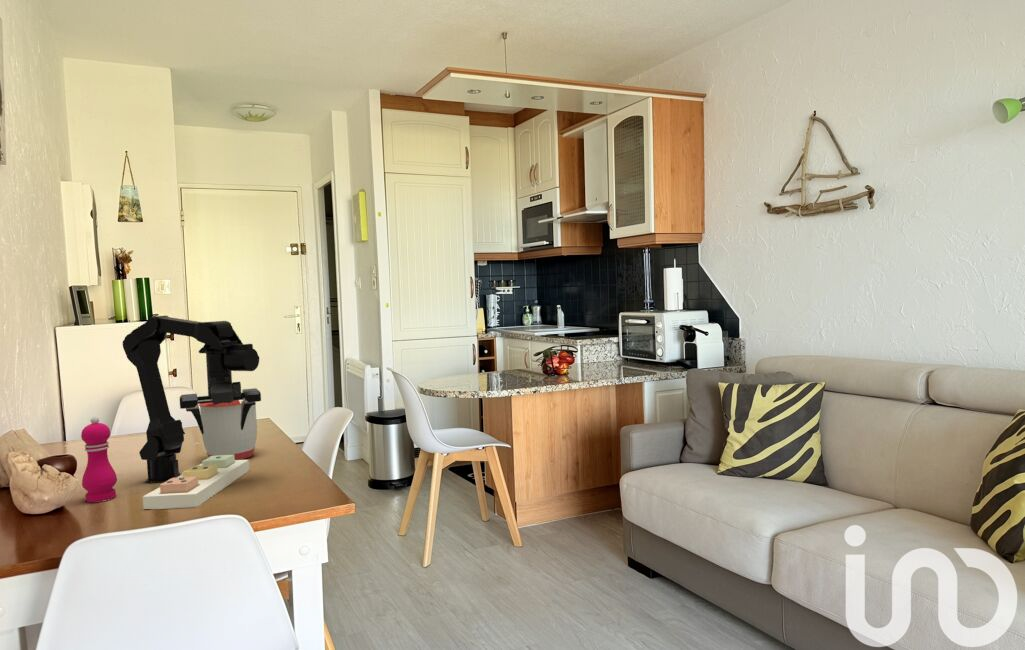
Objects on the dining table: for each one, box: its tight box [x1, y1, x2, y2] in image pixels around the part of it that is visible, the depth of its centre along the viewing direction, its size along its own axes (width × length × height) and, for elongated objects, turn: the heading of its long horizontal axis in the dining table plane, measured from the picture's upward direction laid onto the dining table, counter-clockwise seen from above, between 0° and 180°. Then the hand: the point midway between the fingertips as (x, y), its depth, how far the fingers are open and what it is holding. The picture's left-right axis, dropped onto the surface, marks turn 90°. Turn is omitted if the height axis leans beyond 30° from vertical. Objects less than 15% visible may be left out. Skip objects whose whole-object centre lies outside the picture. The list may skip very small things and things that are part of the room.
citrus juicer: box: [198, 400, 258, 460], centre depth 204 cm, size 16×17×20 cm
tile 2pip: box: [181, 465, 218, 480], centre depth 171 cm, size 6×6×2 cm
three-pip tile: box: [159, 476, 199, 494], centre depth 160 cm, size 6×6×2 cm
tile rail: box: [142, 459, 250, 510], centre depth 171 cm, size 12×32×3 cm, turn 1°
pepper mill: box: [80, 416, 118, 503], centre depth 165 cm, size 7×7×20 cm
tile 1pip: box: [201, 455, 235, 468], centre depth 182 cm, size 6×6×2 cm
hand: (222, 431), depth 175 cm, fingers open, 9 cm apart
